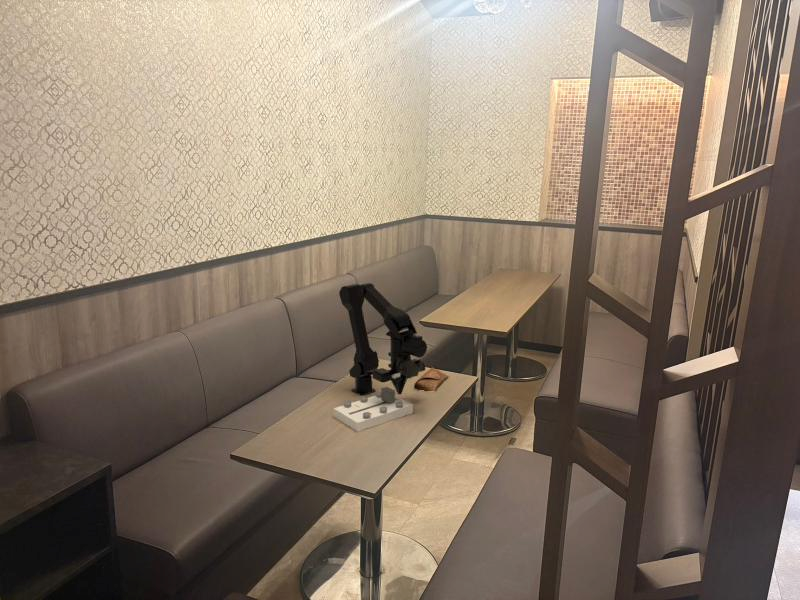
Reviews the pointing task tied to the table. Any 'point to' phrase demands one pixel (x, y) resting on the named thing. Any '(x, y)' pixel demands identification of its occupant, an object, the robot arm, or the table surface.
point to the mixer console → (371, 411)
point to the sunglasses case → (430, 380)
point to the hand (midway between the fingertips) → (399, 394)
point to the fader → (387, 395)
